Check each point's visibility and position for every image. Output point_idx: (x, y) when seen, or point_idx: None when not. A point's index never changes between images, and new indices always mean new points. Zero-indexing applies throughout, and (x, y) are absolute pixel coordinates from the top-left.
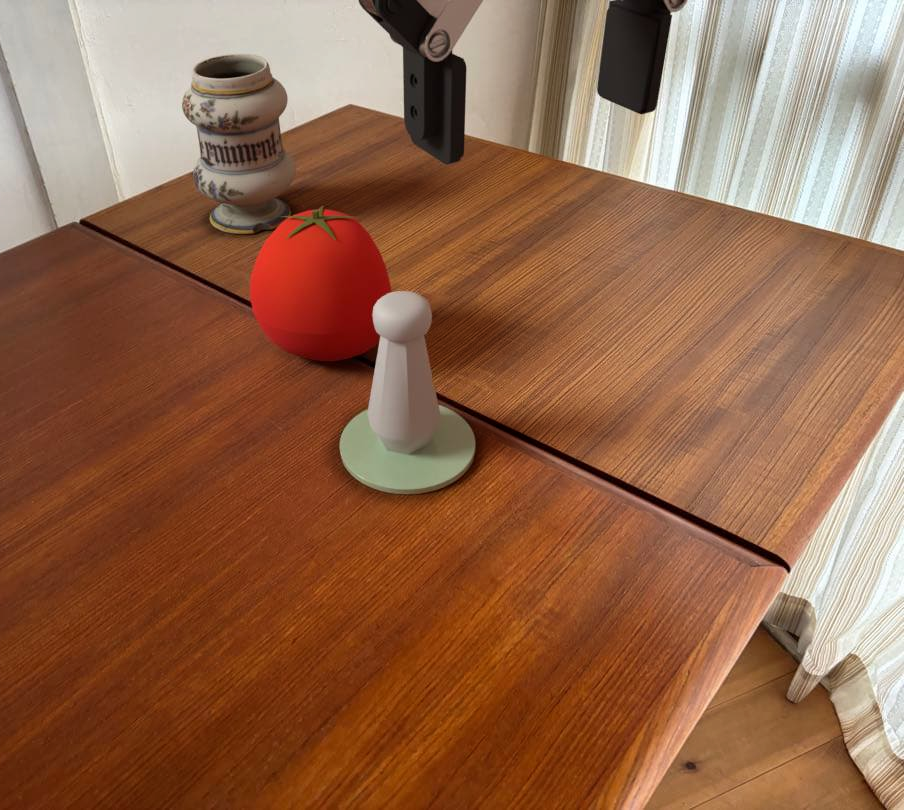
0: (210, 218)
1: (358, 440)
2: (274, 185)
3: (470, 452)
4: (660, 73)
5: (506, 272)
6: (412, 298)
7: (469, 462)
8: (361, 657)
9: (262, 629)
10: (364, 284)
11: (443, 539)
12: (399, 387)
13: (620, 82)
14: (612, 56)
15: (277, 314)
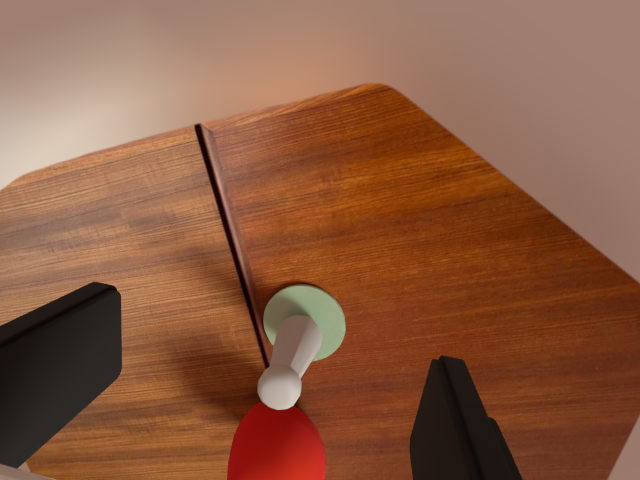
0: None
1: (326, 344)
2: None
3: (279, 294)
4: (52, 303)
5: (144, 402)
6: (267, 393)
7: (285, 288)
8: (425, 222)
9: (455, 270)
10: (261, 438)
11: (335, 255)
12: (303, 347)
13: (98, 350)
14: (70, 395)
15: (320, 455)
